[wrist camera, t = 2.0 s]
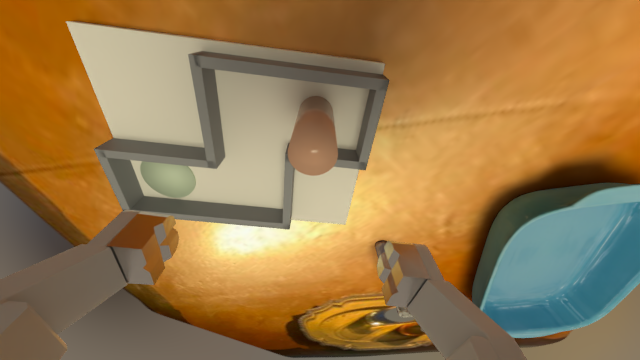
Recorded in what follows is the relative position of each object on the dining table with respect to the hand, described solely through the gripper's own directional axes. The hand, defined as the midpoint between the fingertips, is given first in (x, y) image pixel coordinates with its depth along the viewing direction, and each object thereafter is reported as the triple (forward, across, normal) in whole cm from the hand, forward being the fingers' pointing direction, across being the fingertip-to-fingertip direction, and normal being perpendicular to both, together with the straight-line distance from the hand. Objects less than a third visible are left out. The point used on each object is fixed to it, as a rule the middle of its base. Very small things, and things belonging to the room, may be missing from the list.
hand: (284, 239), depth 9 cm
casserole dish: (+21, -43, +19) cm, 52 cm away
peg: (+20, -1, +1) cm, 20 cm away
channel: (+22, +7, +7) cm, 24 cm away
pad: (+21, +17, +13) cm, 30 cm away
